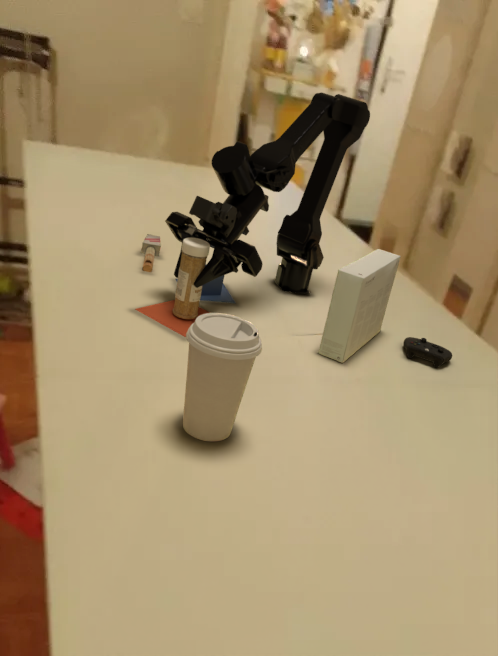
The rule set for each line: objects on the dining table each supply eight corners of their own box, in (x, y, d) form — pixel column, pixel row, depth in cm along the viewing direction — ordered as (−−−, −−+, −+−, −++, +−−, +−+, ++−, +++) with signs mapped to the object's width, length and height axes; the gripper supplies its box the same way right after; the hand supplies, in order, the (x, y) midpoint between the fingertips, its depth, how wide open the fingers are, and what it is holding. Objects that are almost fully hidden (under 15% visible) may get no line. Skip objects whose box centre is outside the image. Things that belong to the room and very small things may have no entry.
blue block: (209, 285, 135) (213, 264, 133) (220, 295, 132) (224, 273, 130) (189, 286, 132) (193, 264, 130) (200, 295, 129) (204, 273, 127)
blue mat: (222, 285, 138) (223, 283, 138) (235, 305, 130) (236, 303, 130) (174, 280, 134) (175, 278, 134) (185, 300, 126) (185, 298, 126)
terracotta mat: (181, 299, 126) (182, 297, 126) (230, 325, 122) (230, 323, 121) (134, 310, 117) (134, 308, 117) (184, 339, 112) (185, 336, 112)
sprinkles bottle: (198, 321, 118) (212, 248, 112) (172, 318, 117) (184, 243, 110) (196, 310, 122) (208, 238, 115) (170, 307, 120) (181, 234, 114)
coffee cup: (213, 457, 85) (236, 351, 78) (155, 424, 88) (172, 319, 81) (255, 431, 92) (279, 332, 85) (201, 401, 96) (220, 304, 89)
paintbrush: (163, 230, 150) (157, 264, 133) (161, 242, 151) (155, 277, 135) (146, 227, 149) (137, 260, 132) (144, 238, 150) (136, 273, 134)
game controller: (452, 355, 131) (457, 342, 126) (443, 379, 130) (448, 368, 124) (405, 339, 133) (408, 325, 127) (395, 362, 132) (398, 350, 126)
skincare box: (355, 322, 137) (378, 247, 130) (380, 332, 136) (404, 256, 128) (314, 352, 120) (337, 267, 112) (342, 364, 118) (367, 278, 111)
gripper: (180, 163, 115) (125, 233, 112) (266, 199, 107) (209, 274, 104) (203, 206, 125) (153, 271, 122) (284, 241, 117) (232, 311, 114)
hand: (185, 281), depth 115 cm, fingers closed on sprinkles bottle, 4 cm apart
